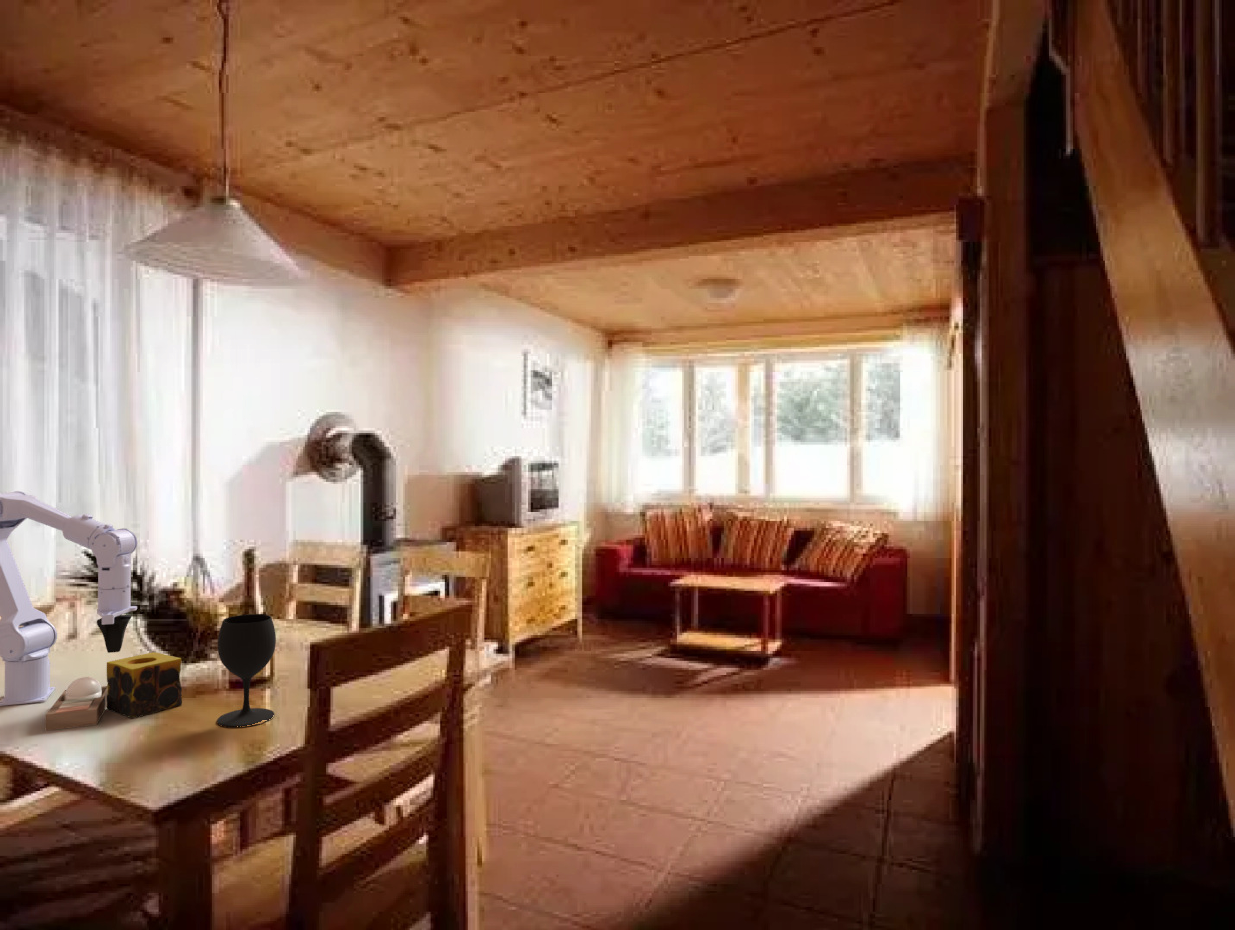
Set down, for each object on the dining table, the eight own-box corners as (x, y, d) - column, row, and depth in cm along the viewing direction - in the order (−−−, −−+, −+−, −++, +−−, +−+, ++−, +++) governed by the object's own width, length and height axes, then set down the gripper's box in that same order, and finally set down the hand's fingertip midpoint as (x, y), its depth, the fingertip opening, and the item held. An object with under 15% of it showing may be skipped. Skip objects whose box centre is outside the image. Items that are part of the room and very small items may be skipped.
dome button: (69, 704, 156) (69, 675, 156) (103, 700, 158) (104, 672, 158) (62, 713, 150) (62, 683, 150) (98, 709, 153) (98, 680, 153)
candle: (183, 705, 158) (183, 658, 158) (131, 719, 149) (132, 669, 149) (156, 696, 163) (156, 650, 163) (105, 710, 154) (105, 661, 154)
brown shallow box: (64, 704, 157) (65, 689, 157) (110, 699, 160) (111, 684, 160) (45, 730, 142) (45, 713, 142) (96, 724, 146) (96, 708, 146)
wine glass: (259, 706, 158) (261, 611, 158) (284, 718, 151) (285, 618, 151) (207, 719, 150) (208, 618, 150) (230, 732, 143) (232, 627, 143)
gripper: (131, 591, 154) (130, 658, 154) (142, 580, 167) (141, 641, 167) (89, 594, 151) (89, 661, 151) (104, 582, 164) (103, 644, 164)
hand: (114, 651), depth 159 cm, fingers closed
